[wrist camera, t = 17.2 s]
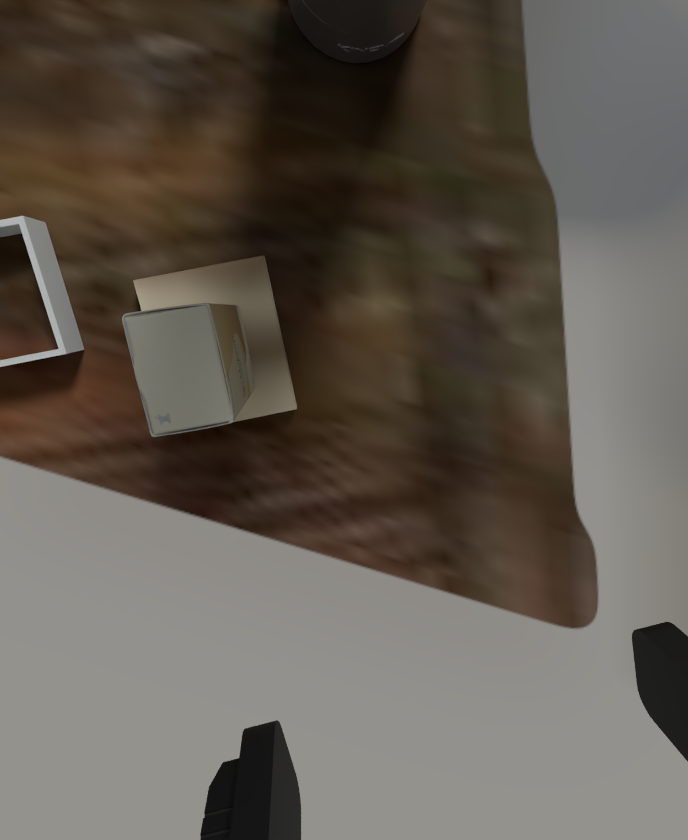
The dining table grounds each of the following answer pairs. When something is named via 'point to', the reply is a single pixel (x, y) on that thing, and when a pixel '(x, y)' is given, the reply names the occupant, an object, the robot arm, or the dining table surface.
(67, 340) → the gray square frame
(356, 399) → the dining table surface
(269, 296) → the birch board
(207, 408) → the skincare box
